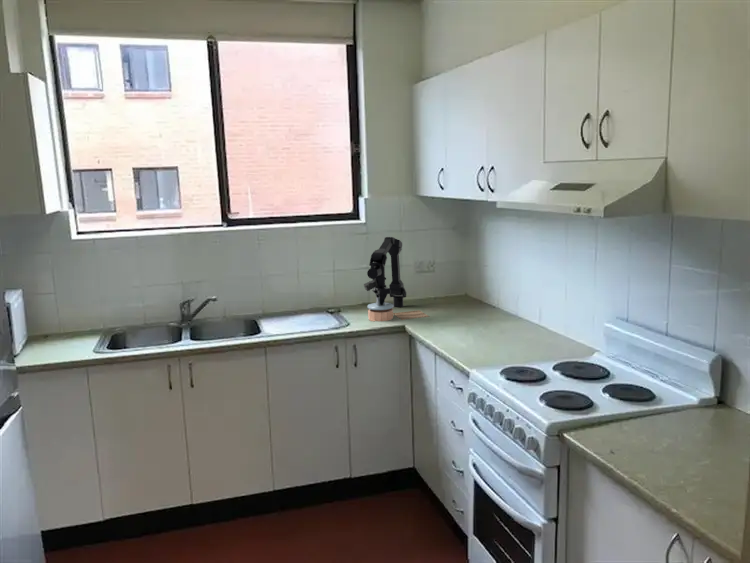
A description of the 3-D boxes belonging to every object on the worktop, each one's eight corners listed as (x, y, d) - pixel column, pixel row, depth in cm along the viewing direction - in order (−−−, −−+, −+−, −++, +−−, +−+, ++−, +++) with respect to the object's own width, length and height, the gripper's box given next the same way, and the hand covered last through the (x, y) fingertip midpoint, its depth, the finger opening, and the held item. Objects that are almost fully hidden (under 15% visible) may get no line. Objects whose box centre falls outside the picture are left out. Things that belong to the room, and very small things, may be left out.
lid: (364, 305, 339) (364, 296, 338) (388, 303, 343) (388, 294, 342) (371, 311, 326) (371, 301, 325) (397, 308, 330) (397, 299, 329)
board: (392, 314, 346) (392, 313, 346) (419, 311, 351) (419, 310, 351) (401, 320, 331) (401, 319, 331) (429, 317, 336) (429, 316, 335)
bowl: (365, 317, 340) (365, 308, 339) (388, 315, 344) (388, 306, 343) (372, 322, 328) (372, 313, 327) (396, 320, 332) (396, 311, 331)
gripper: (360, 274, 338) (361, 302, 341) (370, 279, 321) (371, 309, 323) (379, 272, 341) (380, 300, 344) (390, 278, 324) (391, 307, 327)
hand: (380, 304), depth 335 cm, fingers closed on lid, 3 cm apart
